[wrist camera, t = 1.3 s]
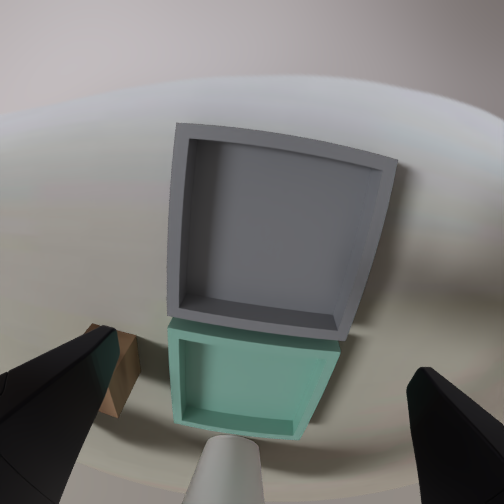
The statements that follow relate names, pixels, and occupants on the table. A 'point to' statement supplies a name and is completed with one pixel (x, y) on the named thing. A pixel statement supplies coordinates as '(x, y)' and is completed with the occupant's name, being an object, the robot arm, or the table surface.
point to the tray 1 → (272, 230)
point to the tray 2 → (246, 379)
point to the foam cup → (227, 473)
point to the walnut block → (121, 374)
